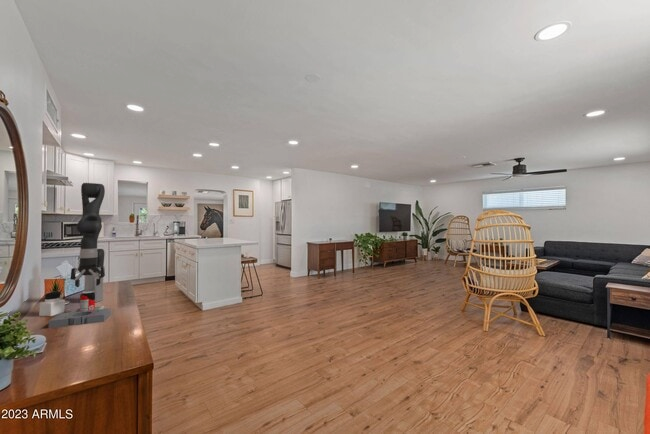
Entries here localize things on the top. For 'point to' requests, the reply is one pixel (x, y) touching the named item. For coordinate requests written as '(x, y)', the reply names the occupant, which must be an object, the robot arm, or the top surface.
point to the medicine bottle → (52, 304)
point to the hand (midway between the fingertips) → (87, 286)
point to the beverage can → (87, 301)
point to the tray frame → (95, 308)
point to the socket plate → (79, 317)
